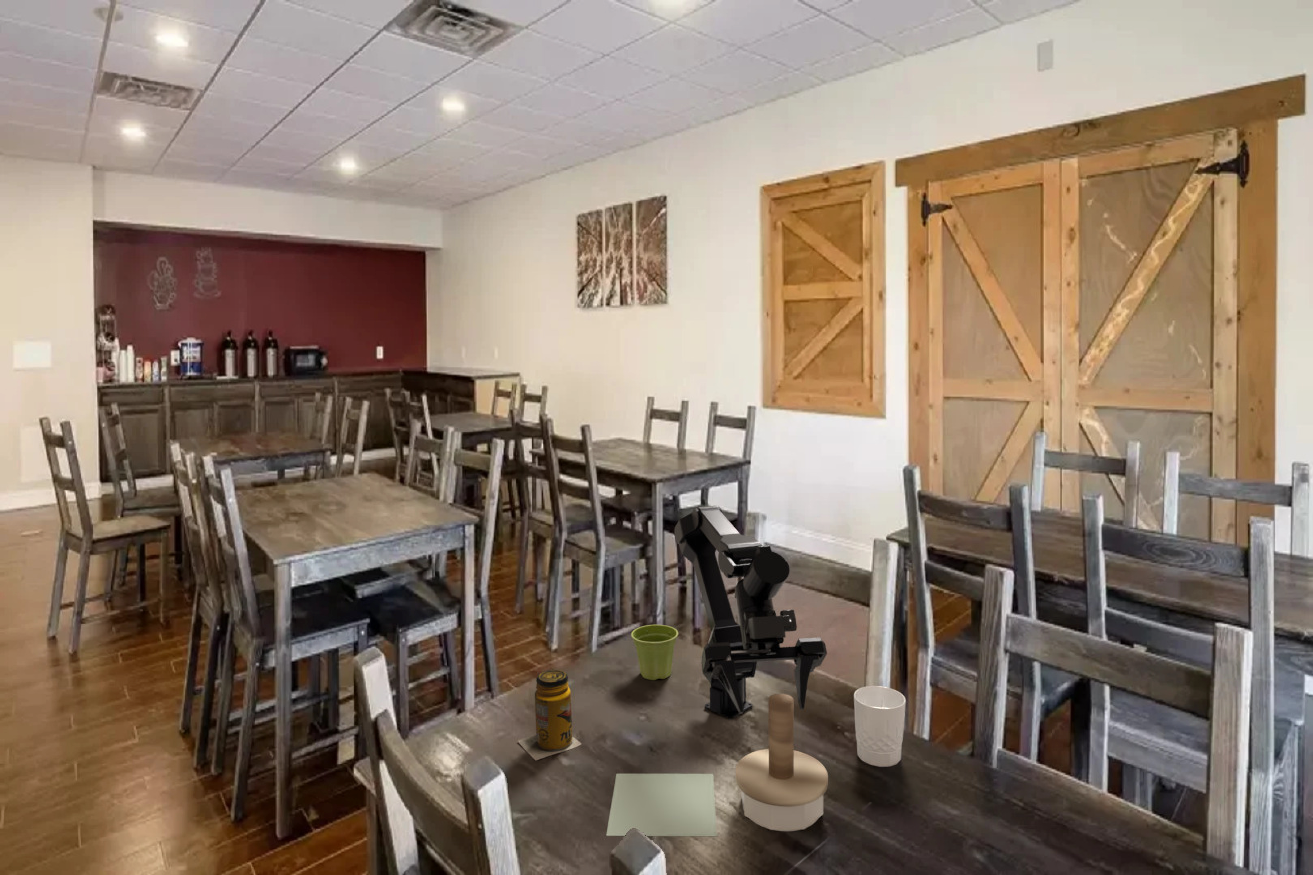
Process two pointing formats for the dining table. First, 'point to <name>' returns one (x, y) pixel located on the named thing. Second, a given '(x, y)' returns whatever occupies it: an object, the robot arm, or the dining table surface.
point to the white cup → (879, 725)
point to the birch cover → (781, 764)
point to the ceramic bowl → (782, 814)
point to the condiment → (551, 716)
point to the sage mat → (663, 805)
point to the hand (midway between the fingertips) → (771, 711)
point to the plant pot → (655, 650)
